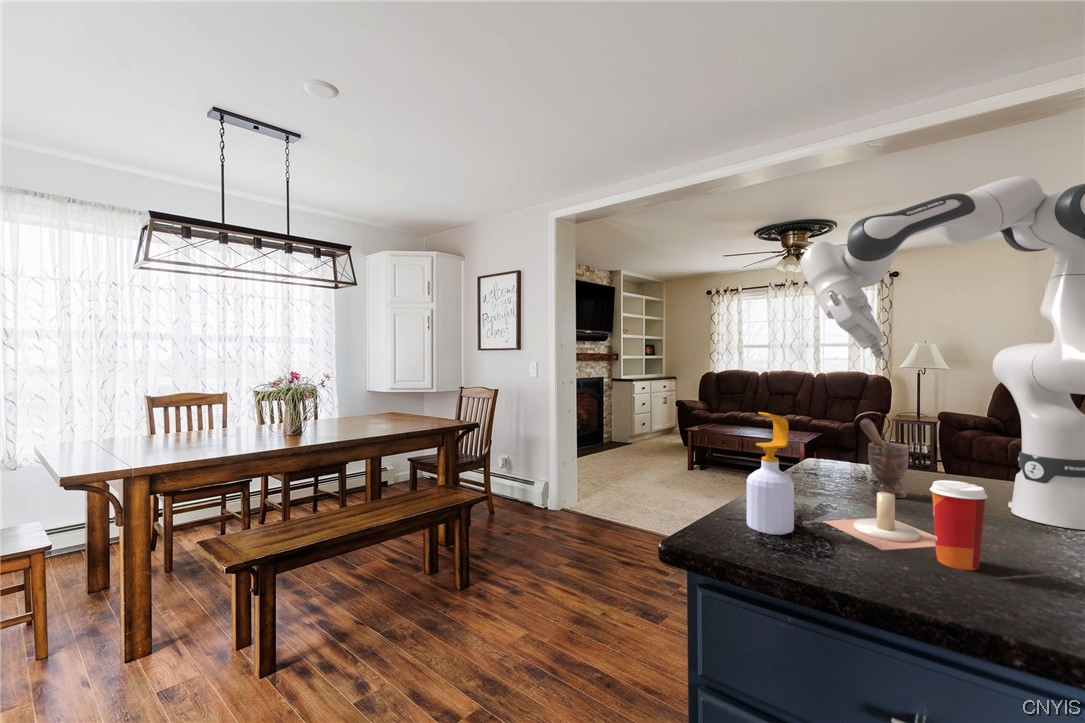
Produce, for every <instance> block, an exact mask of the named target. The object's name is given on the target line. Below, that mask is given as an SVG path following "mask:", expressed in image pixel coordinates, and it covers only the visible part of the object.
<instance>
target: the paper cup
mask: <svg viewBox="0 0 1085 723" xmlns="http://www.w3.org/2000/svg"><path fill="white" fill-rule="evenodd" d="M929 491H930V492H931V493H932V494H931V495H932V513H933V525H934V528H933V529H934V536H935V544H936V547H935V554H936V556H935V557H936V561H937V562H939V563H940V564H942V565H944V566H947V567H950V568H954V569H959V570H963V571H976V570H979V569H980V561H981V551H982V540H983V530H984V529H983V528H984V516H985V515H984V514H985V502H986V499H988V495H987V494H986V492H985V489H984V487H982V486H979V485H976V484H974V483H973V484H972V483H971V484H970V483H969V482H963V481H958V480H946V479H945V480H942V479H941V480H935V481H933V482H932V486H931V487H930V488H929Z"/></svg>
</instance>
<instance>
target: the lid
mask: <svg viewBox="0 0 1085 723" xmlns="http://www.w3.org/2000/svg"><path fill="white" fill-rule="evenodd" d="M895 506H896V498H895V495H894V494H892V493H887V492H877V495H876V518H877V520H875V519H866V518H861V519H862V520H857V521H855V522H854V529H855V530H856V531H858V532H859V533H861V534H864V535H866V536H869V537H873V538H876V539H881V540H886V541H893V542H914V541H917V540H919V532H918V531H917V530H915V529H913V528H911V527H912V526H911V527H909V526H910V525H909V526H906V525H907V524H906V525H903V524H899V523H895V520H896V519H895V516H896V514H895V512H896V507H895Z"/></svg>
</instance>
